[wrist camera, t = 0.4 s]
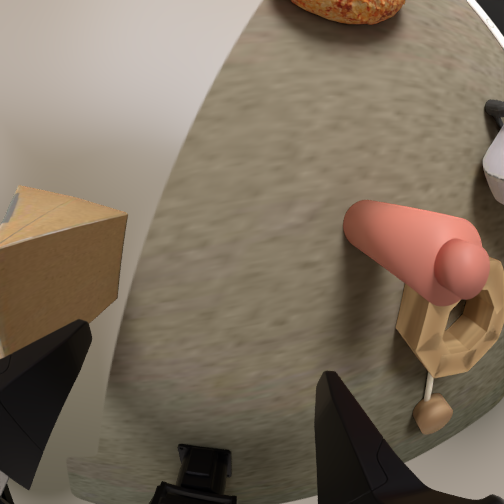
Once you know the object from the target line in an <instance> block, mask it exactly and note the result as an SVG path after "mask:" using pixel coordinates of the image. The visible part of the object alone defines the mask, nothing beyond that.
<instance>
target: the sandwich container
mask: <svg viewBox="0 0 504 504" xmlns="http://www.w3.org/2000/svg"><path fill="white" fill-rule="evenodd" d="M127 219H128V214H127V213H126V212H123V211H120V210H116V209H113V208H110V207H106V206H103V205H100V204H96V203H93V202H89V201H86V200H82V199H79V198H76V197H72V196H67V195H63V194H58V193H53V192H49V191H44V190H40V189H35V188H30V187H26V186H21V185H19V186H18V188H17V190H16V193H15V195H14V197H13V199H12V201H11V203H10V205H9V207H8V210H7V212H6V215H5V217H4V219H3V221H2V223H1V225H0V356H1V359H2V358H4V357H6V356H7V355H9V354H12V353H13V352H15V351H17V350H19V349H21V348H23V347H25V346H27V345H29V344H30V343H32V342H34V341H36V340H38V339H40V338H42V337H44V336H46V335H48V334H50V333H52V332H54V331H56V330H58V329H59V328H61V327H63V326H65V325H67V324H69V323H71V322H73V321H75V320H77V319H82V320H85V321H87V322H88V323H90V322H91V321H93V320H94V319H95V318H96V317H97V316H98V315H99V314H100V313H101V312H102V311H104V310H105V309H106V308H107V307H108V306H109V305H110V304H111V303H113V302H114V301H115V300H116V299H117V298H118V289H119V278H120V270H121V260H122V253H123V246H124V238H125V231H126V225H127Z"/></svg>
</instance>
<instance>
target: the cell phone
mask: <svg viewBox="0 0 504 504" xmlns="http://www.w3.org/2000/svg"><path fill="white" fill-rule="evenodd" d="M466 1H467V3H468V4H469V5H470V6H471V7H472V9H473V10H474V11H475V12H476V13H477V15H478V16H479V17H480V18H481V20H482V21H483V22H484V23H485V25H486V26H487V27H488V29H489V30H490V31H491V33H492V34H493V35H494V37H495V38H496V40H497V41H498V42H499V44H500V45H501V47H502V48H503V50H504V0H466Z"/></svg>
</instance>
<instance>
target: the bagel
mask: <svg viewBox="0 0 504 504" xmlns="http://www.w3.org/2000/svg"><path fill="white" fill-rule="evenodd" d="M291 1H292V2H293V3H294V4H296V5H297V6H299V7H301V8H303V9H305V10H306V11H309V12H311V13H314V14H316V15H319V16H321V17H323V18H326V19H328V20H333V21H337V22H340V23H346V24H370V25H371V24H377V23H379V22H381V21H384V20H386V19H388V18H391V17H393V16H394V15H395V14H396V13H397V12H398V11H399V10H400V9H401V7H402V5H403V4H405V0H291Z"/></svg>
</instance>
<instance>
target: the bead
mask: <svg viewBox="0 0 504 504" xmlns="http://www.w3.org/2000/svg"><path fill="white" fill-rule="evenodd" d="M489 260H490V271H489V276H488V279H487V282H486V284H485V286H484V287H483V289H482V290H481V292H480V293H479V294H478V295H476V296H475V297H473V298H471V299H467V300H466V304H465V308H464V312H463V314H462V315H461V316H460V317H459V318H458V319H457V320H456V321H455V322H454V323H453V324H452V325H451V326H450V327H449V328H448V329H447V330H445V327H446V324H447V321H448V317H449V313H450V311H451V310H452V309H453V308H454V307H455V306H456V305H457V304H458V302H459V301H458V302H457V303H455V304H452V305H449V306H436V305H434V304H431V303H430V302H428V301H427V300H426V299H425V298H423V297H422V296H421V295H420V294H418V293H417V292H416V291H414V290H413V289H412V288H411V287H409V286H408V285H407V284H405V286H404V291H403V296H402V301H401V306H400V311H399V315H398V319H397V324H396V327H395V328H396V329H397V330H398V332H399V333H400V334H401V336H402V337H403V339H404V340H405V341H406V343H407V344H408V345H409V347H410V348H411V350H412V351H413V352H414V354H415V355H416V357H417V358H418V359H419V360H420V362H421V363H422V364H423V366H424V367H425V368H426V369H427V371H428V372H429V373H430V375H431V376H432V377H433V378H438V377H443V376H448V375H453V374H458V373H462V372H467V371H468V370H469V369H470V368H471V367H472V366H473V365H474V364H475V363H476V362H477V361H478V360H479V359H480V358H481V357H482V356H483V355H484V354H485V353H486V352H487V351H488V350H489V349H490V348H491V347H492V345H493V344H494V343H495V342H496V341H497V340H498V338H499V335H500V333H501V330H502V327H503V324H504V270H503V267H502V264H501V261H499V260H496V259H494V258H491V257H489Z"/></svg>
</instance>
